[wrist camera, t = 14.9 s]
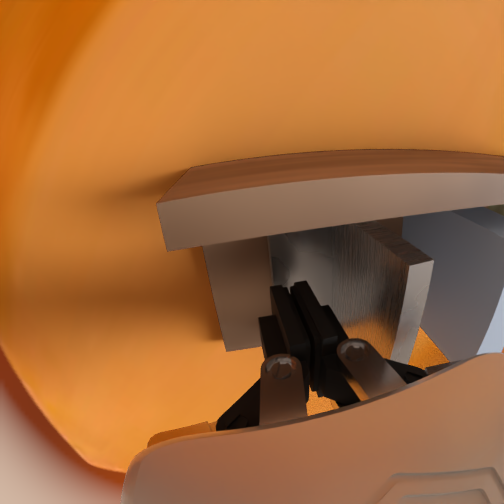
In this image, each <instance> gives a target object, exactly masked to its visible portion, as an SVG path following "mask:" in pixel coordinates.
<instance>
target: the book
mask: <svg viewBox="0 0 504 504" xmlns="http://www.w3.org/2000/svg"><path fill="white" fill-rule="evenodd" d="M402 238H403V239H405V240H406V241H408V242H409V243H410V244H412V245H413V246H415V247H416V248H418V249H419V250H421V251H422V252H424V253H425V254H426V255H428V256H429V257H431V258H432V259H433V260H434V264H433V269H432V275H431V280H430V285H429V290H428V294H427V299H426V303H425V307H424V311H423V315H422V319H421V323H420V327H421V328H422V329H423V331H424V332H425V333H426V334H427V335H428V336H429V338H430V339H431V340H432V341H433V342H434V343H435V345H436V346H437V347H438V348H439V349H440V350H441V352H442V353H443V354H444V355H445V356H446V358H447V359H448V360H449V361H450V362H453V361H458V360H464V359H467V358H469V357H472V356H475V355H479V354H483V353H489V352H501V351H502V350H503V347H504V216H503V215H500V214H498V213H496V212H494V211H492V210H489V209H487V208H485V207H475V208H466V209H458V210H450V211H442V212H434V213H426V214H418V215H411V216H403V228H402Z"/></svg>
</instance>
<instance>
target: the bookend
mask: <svg viewBox="0 0 504 504" xmlns="http://www.w3.org/2000/svg"><path fill="white" fill-rule="evenodd" d="M267 241H268V250H269V259H270V269H271V279H272V286H275V285H282V286H283V287H287V288H288V290H289V293H290V286H294V282H299V281H305V280H306V281H307V282H308V284H309V286H310V287H311V289H312V291H313V293H314V294H315V296H316V298H317V300H318V301H319V303H320V305H321V306H323V305H329V306H330V307H331V309H332V311H333V312H334V314H335V316H336V317H337V319H338V321H339V322H340V324H341V326H342V327H343V329H344V331H345V332H346V334H347V336H348V338H349V339H350V338H359V339H363V340H366V341H368V342H369V343H370V344H371V345H372V346H373V347H374V348H375V349H376V350H377V351H378V353H379V354H380V355H381V356H382V357H383V358H386V359H389V360H393V361H396V362H400V363H404V364H407V365H408V362H409V359H410V356H411V353H412V350H413V347H414V343H415V340H416V337H417V333H418V330H419V326H420V323H421V319H422V315H423V311H424V307H425V303H426V299H427V294H428V290H429V285H430V280H431V275H432V269H433V264H434V260H433V259H432V258H431V257H429V256H428V255H426V254H425V253H424V252H422V251H421V250H419V249H418V248H416V247H415V246H413V245H412V244H410V243H409V242H408V241H406V240H405V239H403V238H402V237H400V236H398V235H397V234H395V233H394V232H392V231H391V230H389V229H388V228H386V227H385V226H383V225H381V224H380V223H378V222H377V221H375V220H373V221H366V222H359V223H352V224H344V225H337V226H330V227H323V228H316V229H310V230H303V231H296V232H289V233H282V234H276V235H269V236H267Z"/></svg>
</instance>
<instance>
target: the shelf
mask: <svg viewBox="0 0 504 504" xmlns="http://www.w3.org/2000/svg"><path fill="white" fill-rule="evenodd" d="M156 205H157V210H158V214H159V219H160V223H161V227H162V232H163V236H164V240H165V244H166V248H167V252H168V251H174V250H180V249H186V248H192V247H198V246H202V247H203V252H204V257H205V262H206V266H207V271H208V276H209V280H210V285H211V289H212V294H213V298H214V303H215V307H216V311H217V315H218V320H219V324H220V328H221V332H222V336H223V340H224V344H225V348H226V352H228V351H235V350H242V349H248V348H254V347H260V346H262V343H261V338H260V331H259V323H258V317H263V316H269V315H272V309H271V299H270V286H272V279H271V269H270V259H269V250H268V241H267V236H269V235H276V234H282V233H289V232H296V231H303V230H310V229H316V228H323V227H330V226H337V225H344V224H352V223H359V222H366V221H373V220H375V221H377V222H378V223H380V224H381V225H383V226H385V227H386V228H388V229H389V230H391V231H392V232H394V233H395V234H397V235H398V236H400V237H402V228H403V216H411V215H418V214H426V213H434V212H442V211H450V210H458V209H466V208H475V207H485V208H487V209H489V210H492V211H494V212H496V213H498V214H500V215H503V216H504V157H503V156H496V155H487V154H478V153H468V152H455V151H440V150H415V149H362V150H336V151H319V152H306V153H294V154H283V155H273V156H264V157H256V158H248V159H241V160H233V161H227V162H220V163H214V164H208V165H202V166H196V167H191V168H190V169H189V170H188V171H187V172H186V173H185V174H184V175H183V176H182V177H181V178H180V179H179V180H178V181H177V182H176V183H175V184H174V185H173V186H172V187H171V188H170V189H169V190H168V191H167V192H166V194H165V195H164V196H163V197H162V198H161V199H160V200H159V201H158V202H157V203H156Z"/></svg>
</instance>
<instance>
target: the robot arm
mask: <svg viewBox="0 0 504 504" xmlns="http://www.w3.org/2000/svg"><path fill="white" fill-rule="evenodd" d="M270 299H271V309H272V315H269V316H263V317H258V323H259V331H260V338H261V343H262V349H263V353H264V358H265V361H264V362H263V364H262V366H261V378H260V379H259V380H258V381H257V382H256V383H255V384H254V385H253V386H252V387H251V388H250V389H249V390H248V391H247V392H246V393H245V394H244V395H243V396H242V397H241V398H240V399H239V400H237V401H236V402H235V403H234V404H233V405H232V406H231V407H230V408H229V409H228V410H227V411H226V412H225V413H224V414H223V415H222V416H221V417H220V418H219V419H218V420H217V421H216V422H213V423H209V424H208V421H207V422H203V423H199V424H195V425H191V426H187V427H183V428H179V429H174V430H170V431H165V432H161V433H158V434H155V435H154V436H153V437H151V438H150V440H149V442H148V446H147V448H146V449H144V450H143V451H141V452H140V453H138V454H137V455H136V456H135V457H134V458H133V460H132V461H131V463H130V465H129V467H128V470H127V473H126V477H125V480H124V485H123V490H122V496H121V504H504V353H501V352H489V353H483V354H479V355H475V356H472V357H469V358H467V359H464V360H458V361H453V362H449V363H445V364H440V365H436V366H431V367H426V368H425V370H422V369H420V368H418V367H415V366H411V365H407V364H404V363H400V362H396V361H393V360H389V359H386V358H383V357H382V356H381V355H380V354H379V353H378V351H377V350H376V349H375V348H374V347H373V346H372V345H371V344H370V343H369V342H368V341H366V340H363V339H359V338H350V339H349V338H348V336H347V334H346V332H345V331H344V329H343V327H342V326H341V324H340V322H339V321H338V319H337V317H336V316H335V314H334V312H333V311H332V309H331V307H330V306H329V305H323V306H321V305H320V303H319V301H318V300H317V298H316V296H315V294H314V293H313V291H312V289H311V287H310V286H309V284H308V282H307V281H306V280H305V281H299V282H294V286H290V293H289V290H288V288H287V287H283V286H282V285H275V286H270ZM309 385H310V388H311V390H312V392H314V391H316V392H317V395H318V397H323V396H324V397H326V398H329V399H330V402H331V405H332V407H333V408H334V410H330V411H327V412H323V413H319V414H315V415H311V416H307V408H306V403H307V402H308V400H309Z"/></svg>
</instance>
